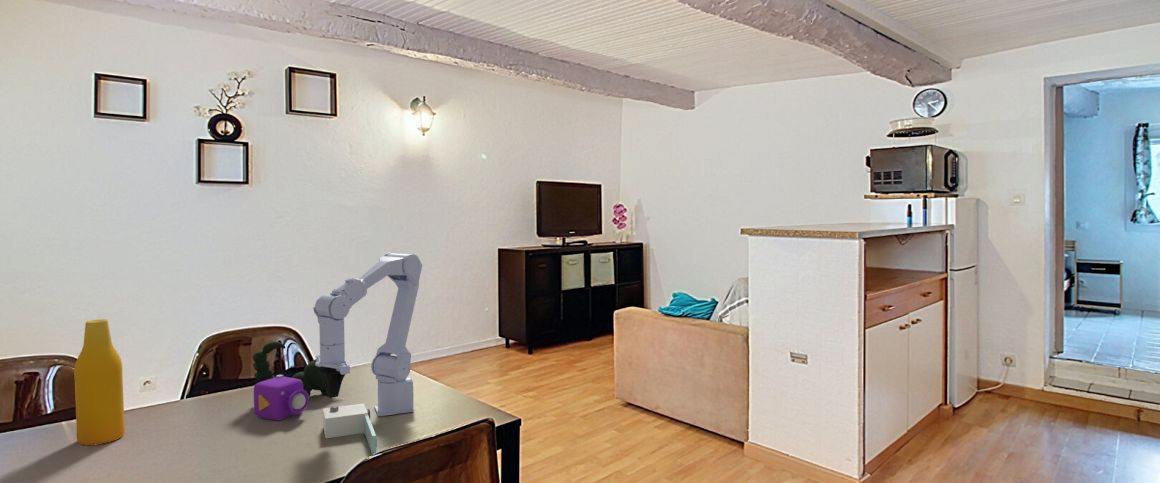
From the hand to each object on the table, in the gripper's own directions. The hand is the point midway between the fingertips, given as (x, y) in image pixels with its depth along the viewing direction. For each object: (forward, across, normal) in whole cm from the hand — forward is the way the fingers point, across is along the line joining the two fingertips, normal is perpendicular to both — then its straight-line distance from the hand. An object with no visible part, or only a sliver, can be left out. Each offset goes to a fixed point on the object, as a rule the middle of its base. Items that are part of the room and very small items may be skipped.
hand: (333, 396), depth 154 cm
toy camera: (+10, -22, -4) cm, 24 cm away
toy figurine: (+10, -34, +6) cm, 35 cm away
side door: (+9, +12, +3) cm, 16 cm away
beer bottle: (+10, -36, -41) cm, 56 cm away
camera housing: (+10, 0, +3) cm, 10 cm away
